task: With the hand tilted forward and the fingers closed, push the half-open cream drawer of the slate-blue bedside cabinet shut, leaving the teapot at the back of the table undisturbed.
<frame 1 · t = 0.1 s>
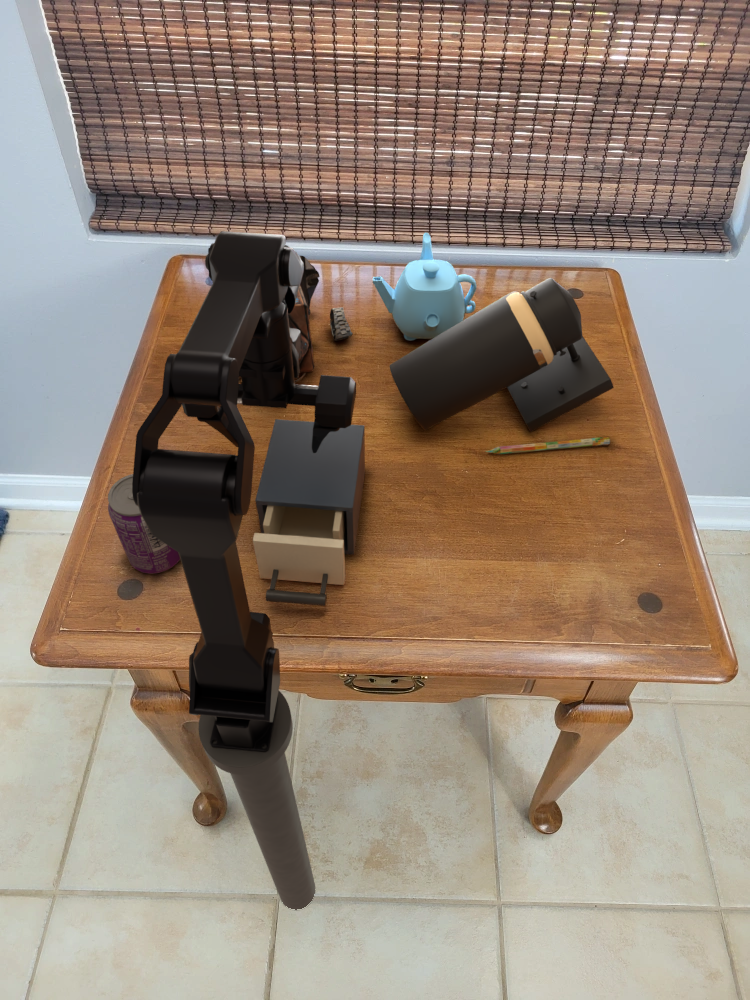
hand: (277, 447, 92), 12 cm above the table, tool pointing down, fingers open, 9 cm apart
pencil: (546, 449, 109), on the table
teapot: (422, 326, 126), on the table
cabinet: (316, 509, 102), on the table
light fixture: (489, 407, 115), on the table
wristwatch: (341, 336, 125), on the table
drawer: (305, 535, 93), point 5 cm above the table, slide at 4.0 cm
lantern: (273, 361, 121), on the table
beverage can: (157, 554, 97), on the table
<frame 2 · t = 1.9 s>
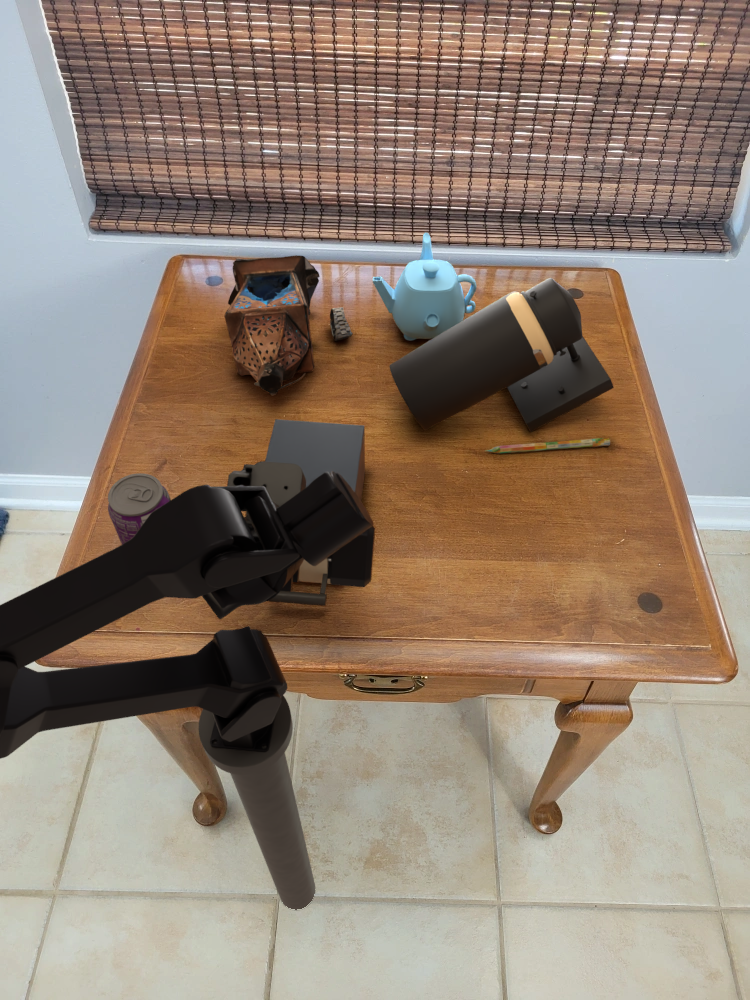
hand: (291, 535, 84), 13 cm above the table, tool tilted 45°, fingers open, 8 cm apart
nothing on the table moved.
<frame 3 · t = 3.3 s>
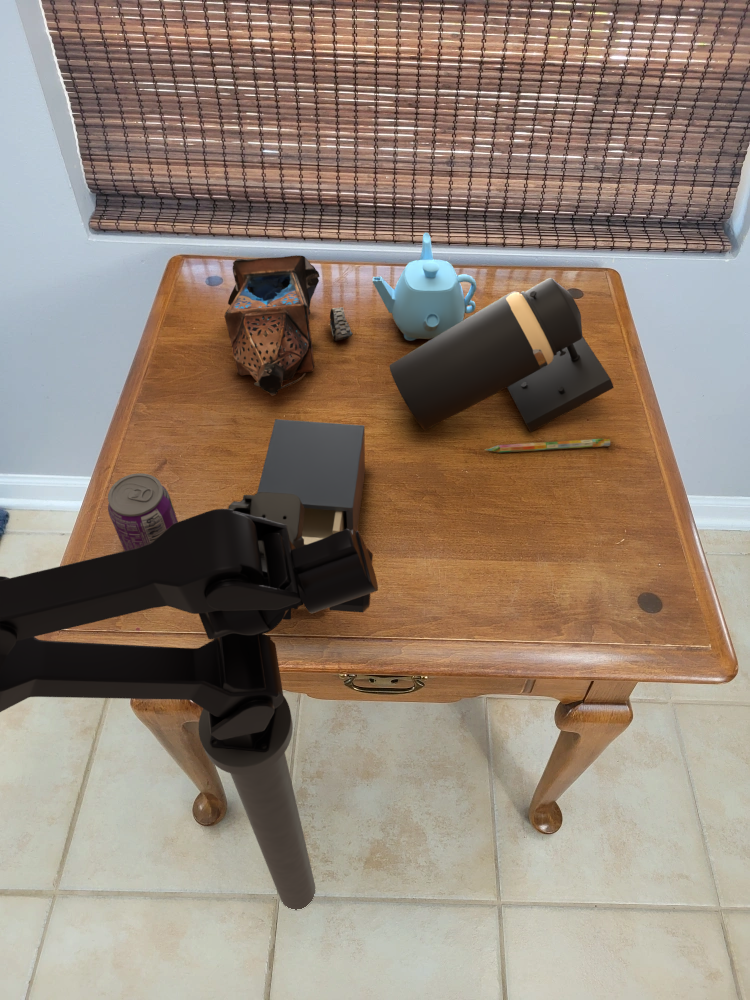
hand: (291, 559, 85), 9 cm above the table, tool tilted 45°, fingers closed
nothing on the table moved.
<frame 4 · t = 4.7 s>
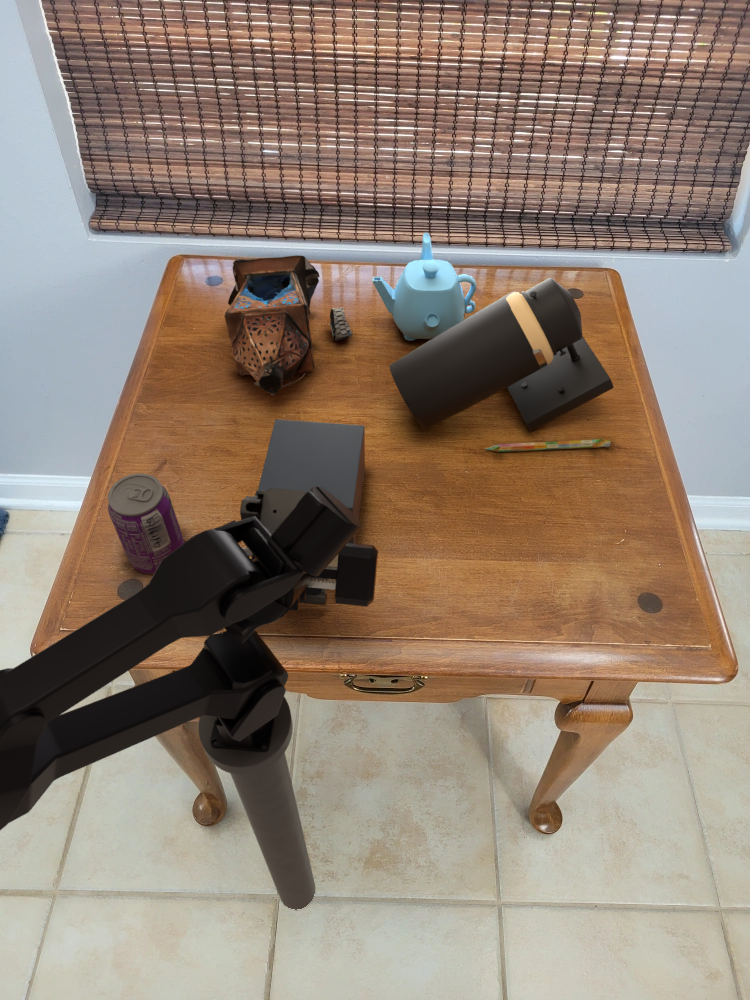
hand: (300, 554, 89), 7 cm above the table, tool tilted 45°, fingers closed, pressing on drawer
drawer: (305, 534, 93), point 5 cm above the table, slide at 3.9 cm, touching gripper
everything else where it was.
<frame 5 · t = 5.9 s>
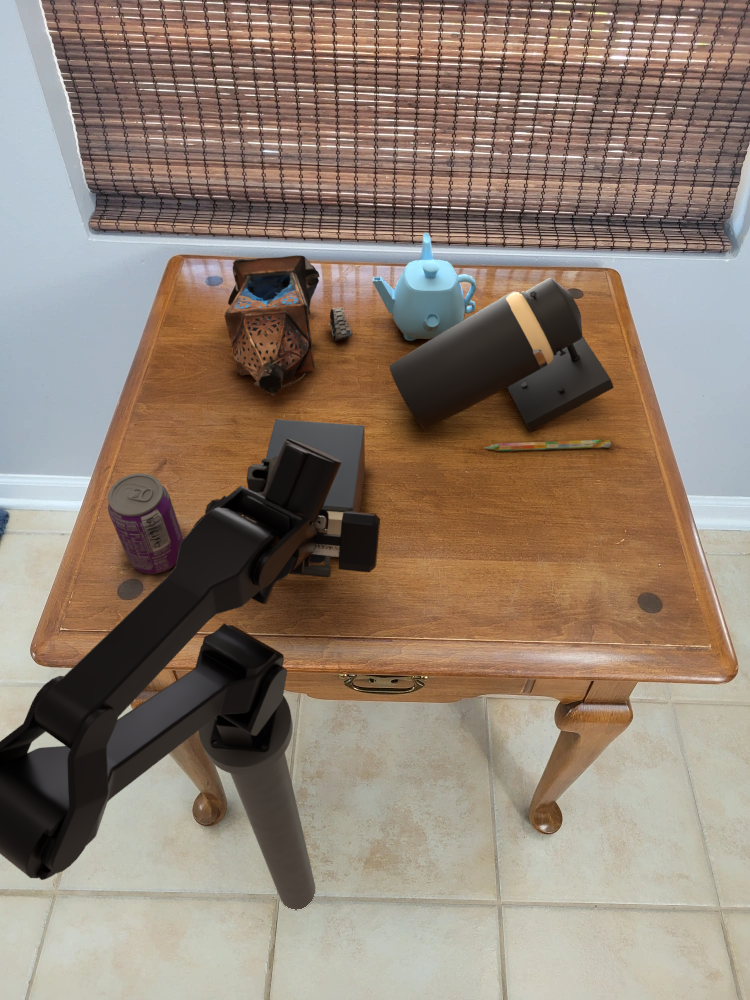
hand: (304, 526, 91), 7 cm above the table, tool tilted 45°, fingers closed, pressing on drawer
drawer: (309, 509, 96), point 5 cm above the table, slide at 0.0 cm, touching cabinet, gripper
everything else where it was.
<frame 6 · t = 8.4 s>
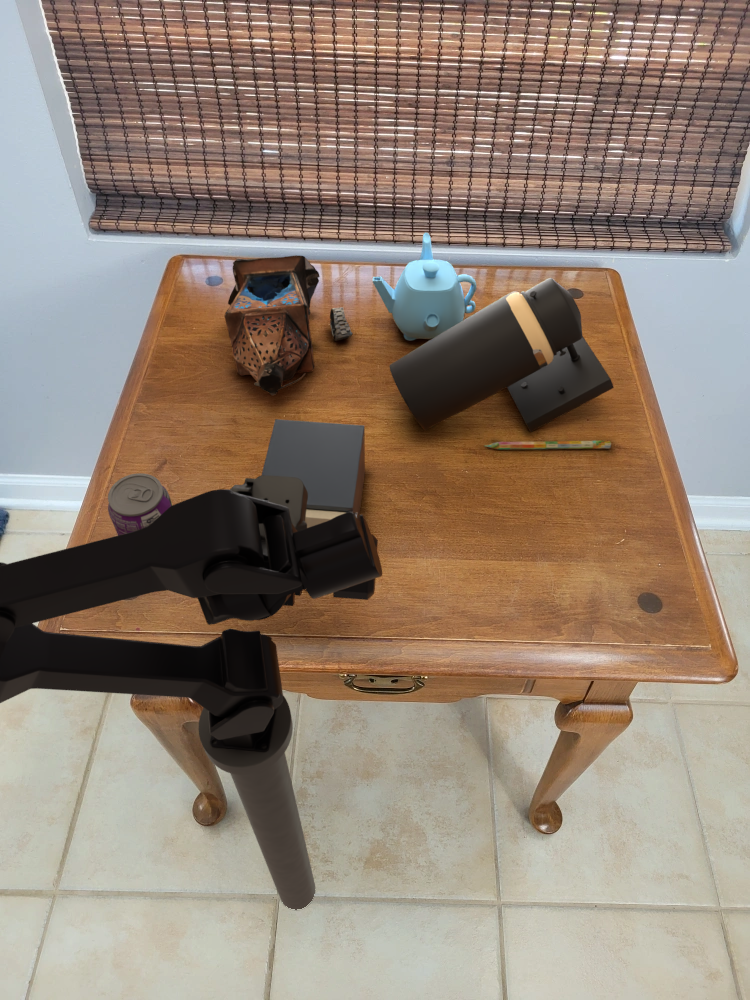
hand: (295, 546, 83), 12 cm above the table, tool tilted 45°, fingers closed
drawer: (309, 509, 96), point 5 cm above the table, slide at 0.0 cm, touching cabinet
everything else where it was.
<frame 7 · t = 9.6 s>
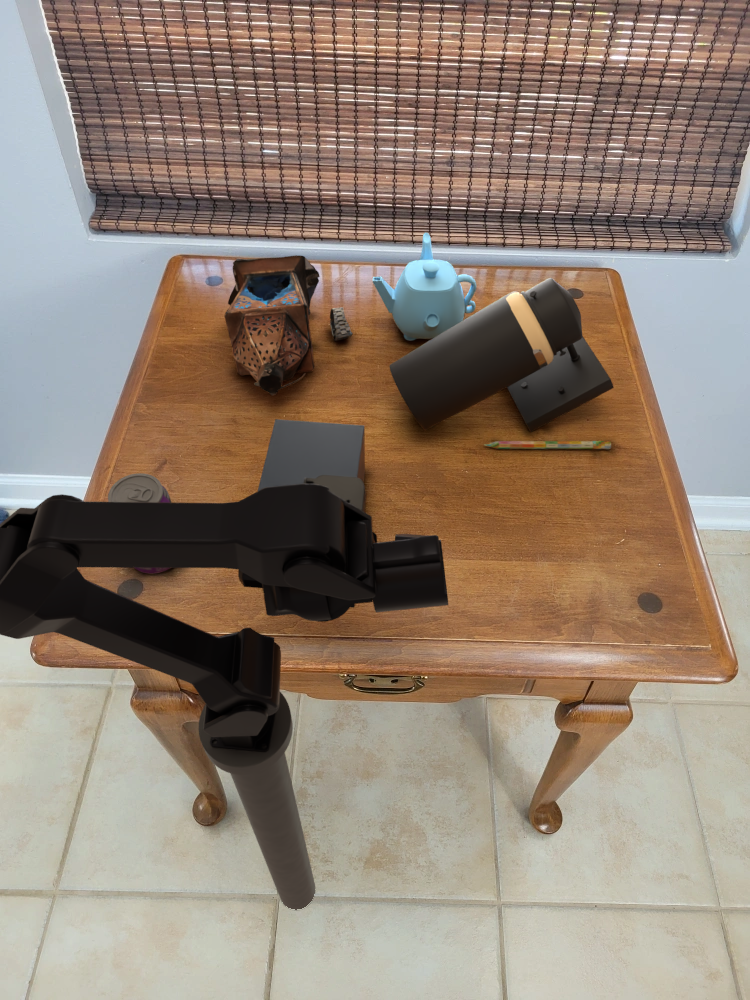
hand: (345, 547, 83), 13 cm above the table, tool tilted 45°, fingers closed
nothing on the table moved.
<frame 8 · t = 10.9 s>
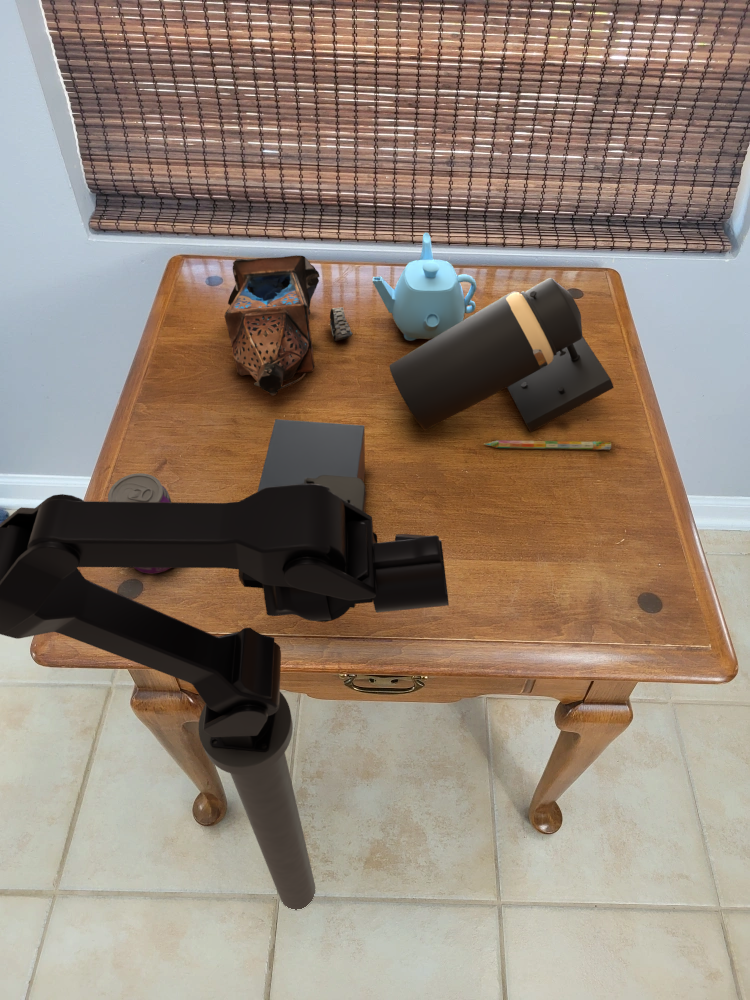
hand: (345, 547, 83), 13 cm above the table, tool tilted 45°, fingers closed
nothing on the table moved.
at the end: drawer slide at 0.0 cm; teapot moved 0.2 cm from its start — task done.
